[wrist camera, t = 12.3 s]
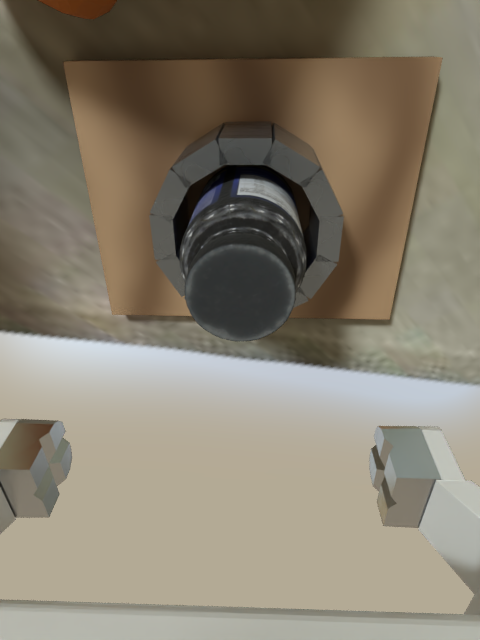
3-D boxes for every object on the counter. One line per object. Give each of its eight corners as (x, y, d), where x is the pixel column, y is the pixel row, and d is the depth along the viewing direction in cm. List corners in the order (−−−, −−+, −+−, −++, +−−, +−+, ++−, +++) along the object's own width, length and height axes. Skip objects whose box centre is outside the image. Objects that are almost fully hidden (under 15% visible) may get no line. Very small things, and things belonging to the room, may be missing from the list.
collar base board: (118, 304, 34) (112, 314, 32) (73, 60, 25) (62, 61, 24) (384, 308, 33) (389, 319, 31) (433, 56, 24) (442, 57, 23)
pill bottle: (221, 267, 30) (200, 370, 21) (182, 181, 27) (138, 256, 18) (309, 237, 28) (330, 334, 19) (279, 143, 25) (286, 203, 16)
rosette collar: (176, 279, 30) (161, 317, 26) (161, 121, 25) (139, 138, 21) (322, 280, 30) (331, 320, 26) (338, 121, 25) (353, 138, 20)
